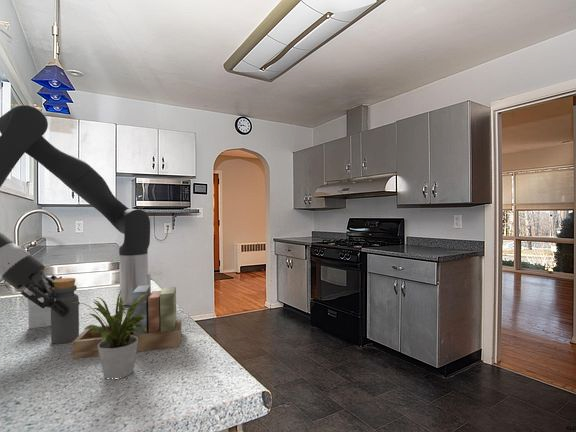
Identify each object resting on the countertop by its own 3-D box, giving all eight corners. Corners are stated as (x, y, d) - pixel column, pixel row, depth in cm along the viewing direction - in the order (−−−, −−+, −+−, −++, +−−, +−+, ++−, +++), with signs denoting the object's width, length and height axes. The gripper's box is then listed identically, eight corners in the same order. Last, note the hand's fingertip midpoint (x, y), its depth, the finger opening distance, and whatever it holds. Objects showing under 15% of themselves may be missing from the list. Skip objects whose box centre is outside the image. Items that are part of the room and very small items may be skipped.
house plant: (59, 403, 56) (57, 304, 56) (74, 368, 68) (73, 288, 68) (152, 384, 61) (151, 294, 61) (150, 355, 74) (149, 281, 74)
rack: (72, 358, 73) (71, 297, 73) (87, 341, 83) (86, 288, 83) (179, 346, 79) (178, 290, 79) (181, 332, 88) (180, 282, 88)
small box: (54, 326, 95) (54, 280, 95) (27, 328, 93) (27, 281, 93) (63, 317, 103) (62, 275, 103) (38, 320, 101) (37, 277, 101)
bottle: (49, 345, 81) (48, 283, 80) (53, 336, 86) (52, 278, 85) (78, 341, 83) (77, 281, 83) (80, 333, 89) (79, 276, 88)
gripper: (12, 257, 75) (73, 306, 78) (41, 251, 89) (92, 292, 92) (-16, 283, 74) (48, 331, 77) (18, 272, 88) (71, 313, 91)
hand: (72, 309), depth 85 cm, fingers closed on bottle, 6 cm apart
